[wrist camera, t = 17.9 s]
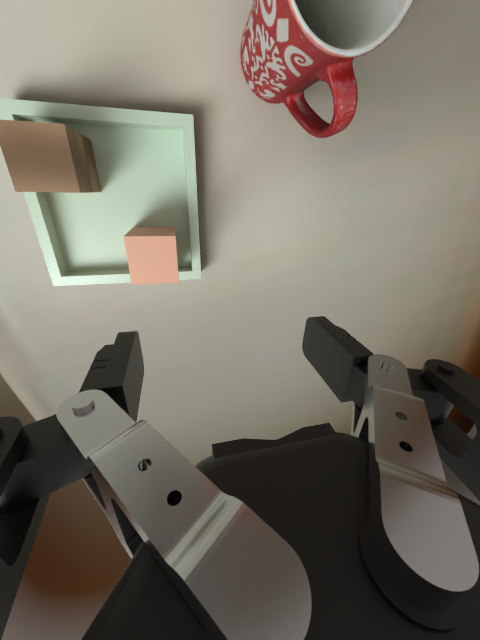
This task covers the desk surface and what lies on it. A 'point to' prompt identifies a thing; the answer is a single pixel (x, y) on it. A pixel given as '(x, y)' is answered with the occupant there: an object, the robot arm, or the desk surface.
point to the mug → (313, 52)
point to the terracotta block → (152, 255)
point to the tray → (116, 190)
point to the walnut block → (48, 157)
